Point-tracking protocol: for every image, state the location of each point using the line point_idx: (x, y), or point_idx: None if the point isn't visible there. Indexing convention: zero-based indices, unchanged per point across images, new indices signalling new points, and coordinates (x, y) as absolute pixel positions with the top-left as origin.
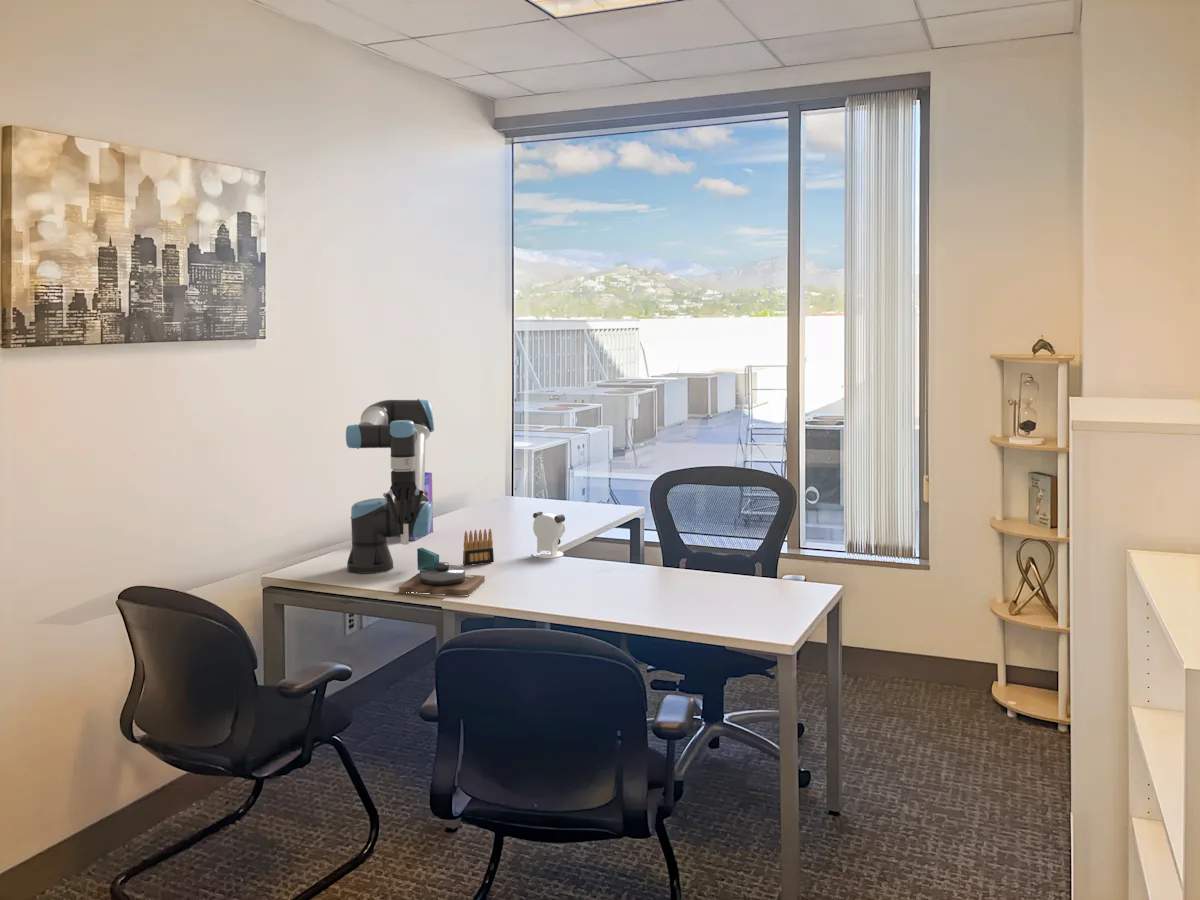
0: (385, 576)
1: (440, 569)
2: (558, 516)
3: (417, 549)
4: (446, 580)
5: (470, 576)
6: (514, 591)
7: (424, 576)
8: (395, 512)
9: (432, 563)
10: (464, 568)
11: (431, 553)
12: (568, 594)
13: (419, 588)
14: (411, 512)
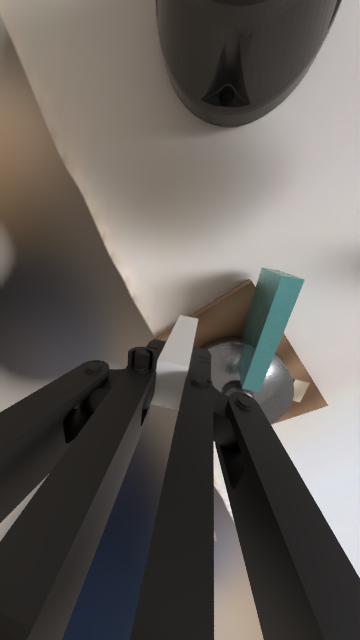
0: (208, 189)
1: None
2: None
3: (280, 277)
4: None
5: (297, 395)
6: (294, 461)
7: None
8: (36, 475)
9: (241, 364)
10: (280, 417)
11: (255, 367)
12: (329, 515)
13: None
14: (243, 458)
